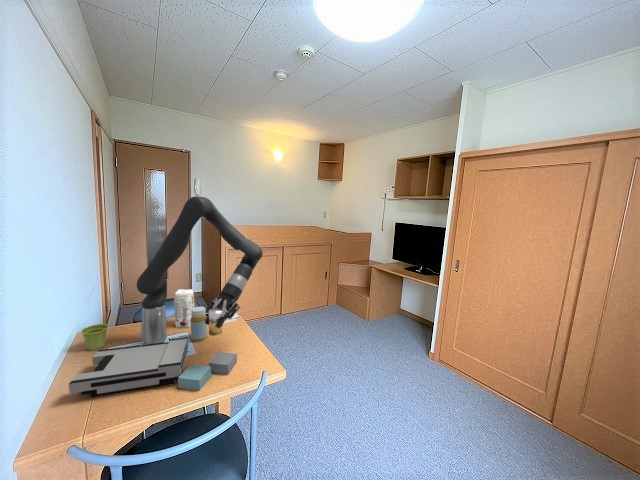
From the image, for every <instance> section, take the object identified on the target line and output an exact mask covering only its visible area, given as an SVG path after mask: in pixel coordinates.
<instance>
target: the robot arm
mask: <svg viewBox="0 0 640 480" xmlns="http://www.w3.org/2000/svg"><path fill="white" fill-rule="evenodd" d="M202 218H203V219H204V220H206V221H208V222H209V223H210V224H211V225H213V226H214V228H215V229H216V230H217V232H218V233H219V235H220V236H221V238H222V239H223V240H224V241H225V242H226V243H227V244H228V245H230V247H232V248H233V249H234V250H235V251H241V252H242V253H243V257H242V258H241V260H240V262H239V264H238V265H237V266H236V268H235V269H234V271H233V272H232V274H231V275H230V276H229V278H228V279H227V281H226V283H225V284H224V286H223V288H222V289H221V291H220V295H219V296H218V297H217V298H216V297H214V296H212V297H211V298H210V300H209V303H208V305H207V308H206V312H208V315H206V319H205V323H206V324H207V326H209V310H210V309H213V308H221V309H222V315H221V317H220V318H219V320H218V322H217V323H216V325H215V326H216V327H217V328H220V327H221V326H222V325H224V323H225V322H226V320H228V319H229V320H232V318H233V317H234V316H235V315H236V313H237V312H238V310H239V309H241V306H240V305H239V304H238V303H237V301H239V298H240V297H241V295H242V293H244V290H245V288H246V286H247V283H248V281H249V279H251V276H252V275H253V271H254V269H255V268H256V266H257V264H258V263H259V261H260V260H261V259H262V258H263V255H264V254H263V250H262V249H261V247H260V246H259V245H258V244H257V243H255V242H254V241H252V240H250V239H248V238H246V237H245V236H244V235H243V234H242V233H241V232H240V231H239V230H238V229H236V227H235V226H234V225H232V224H231V223H230V221H228V220H227V219H226V217H224V215H223V214H222V213H221V212H220V210H219V209H218V208H217V207H216V205H214V203H213V202H212V201H211V200H210V199H209V198H207V197H205V196H197V195H195V196H191V197H190V198H188V199H187V200H186V201H185V203H184V204H183V207H182V209H181V211H180V214H179V216H178V218H177V219H176V221H175V223H174V224H173V226H172V228H171V229H170V230H169V233H168V234H167V235H166V237H165V239H164V240H163V241H162V243H161V245H160V246H159V249H158V250H157V251H156V253H155V254H154V257H153V258H152V260H151V262H150V263H149V264H148V266H147V267H146V268H145V270H143V272H142V273H141V274H140V275H139V276H138V278H137V281H136V288H137V290H138V292H139V293H140V294H141V295H142V294H144V295H145V297H144V298H143V300H142V302H141V311H142V313H141V314H142V315H141V316H142V321H141V323H140V331H141V332H140V333H141V342H142V343H143V344H144V345H146V344H155V343H164V342H166V340H167V337H168V335H167V316H166V315H167V313H166V311H167V310H166V299H167V297H168V279H167V276H166V274H165V273H166V272H167V270H169V268H170V267H172V266H173V264H175V263H176V261H178V260H179V259H180V258H181V257H182V255H183V254H184V253H185V250H186V249H187V248H188V246H189V244H190V240H191V234H192V231H193V228H194V227H195V225H196V224H197V223H198V221H200V219H202Z"/></svg>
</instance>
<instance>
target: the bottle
mask: <svg viewBox="0 0 640 480" xmlns="http://www.w3.org/2000/svg"><path fill="white" fill-rule="evenodd" d="M206 312H207V310H206V307H204V306H194V308H193V309H192V310H191V314H192V317H191V326H190V338H191V341H193V342H202V341H205V339H207V337H208V332H207V331H208V330H207V329H208V325H207V324H206V323H205V319H206V318H207V313H206Z"/></svg>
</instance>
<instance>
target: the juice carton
mask: <svg viewBox="0 0 640 480" xmlns="http://www.w3.org/2000/svg"><path fill="white" fill-rule="evenodd" d="M173 301H174V302H173V303H174V304H173V305H174V307H173V308H174V324H175V327H176V328H191V317H192V314H191V310H192V309H193V308H195V294H194V289H183V288H182V289H178V290H176V291H175V292H174V295H173Z"/></svg>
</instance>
